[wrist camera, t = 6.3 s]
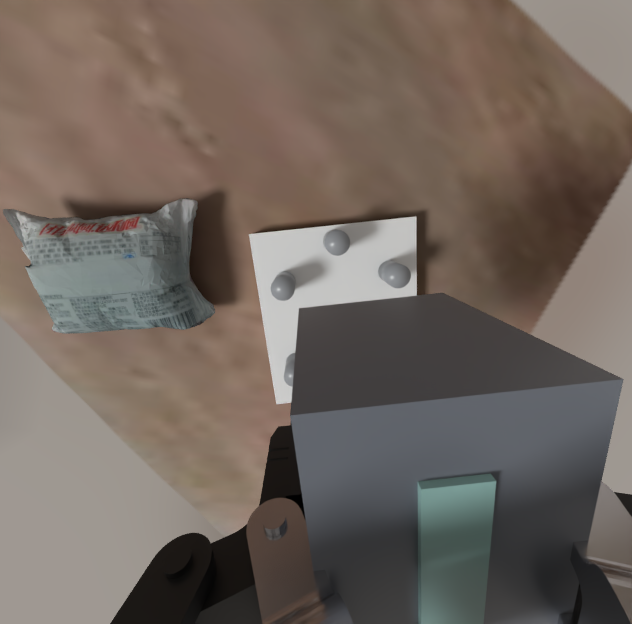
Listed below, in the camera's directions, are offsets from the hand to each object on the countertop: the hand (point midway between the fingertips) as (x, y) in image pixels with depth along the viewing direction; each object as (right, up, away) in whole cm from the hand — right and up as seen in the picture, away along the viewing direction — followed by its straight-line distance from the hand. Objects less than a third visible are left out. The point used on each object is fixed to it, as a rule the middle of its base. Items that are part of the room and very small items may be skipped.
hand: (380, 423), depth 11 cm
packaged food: (-16, +8, +12) cm, 22 cm away
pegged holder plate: (-1, +4, +13) cm, 14 cm away
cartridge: (0, 0, +1) cm, 1 cm away
